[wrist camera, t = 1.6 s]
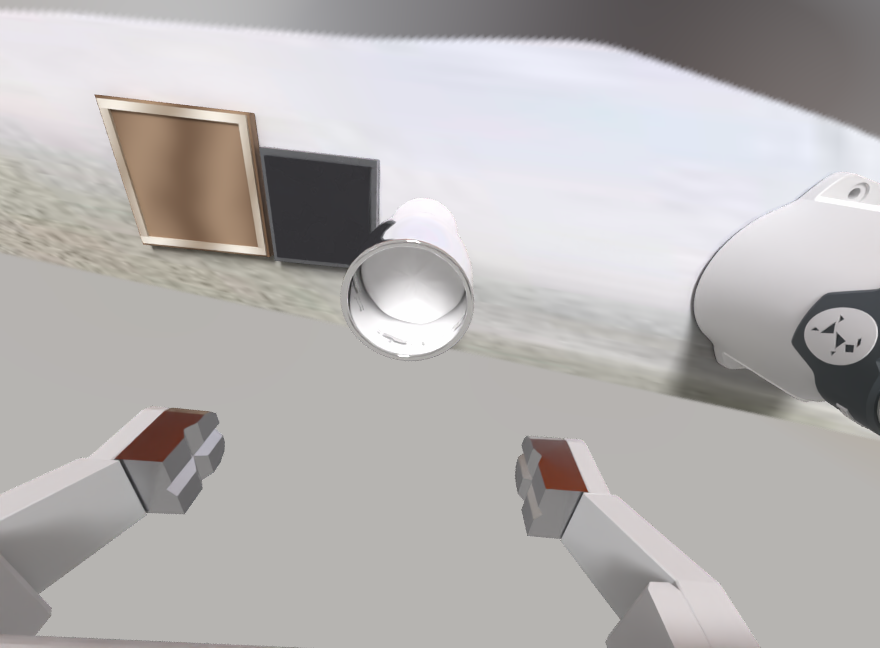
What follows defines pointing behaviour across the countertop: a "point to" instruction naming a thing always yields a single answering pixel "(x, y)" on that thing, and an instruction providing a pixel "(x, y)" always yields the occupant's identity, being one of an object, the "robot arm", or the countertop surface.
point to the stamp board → (190, 175)
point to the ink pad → (319, 205)
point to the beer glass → (410, 284)
